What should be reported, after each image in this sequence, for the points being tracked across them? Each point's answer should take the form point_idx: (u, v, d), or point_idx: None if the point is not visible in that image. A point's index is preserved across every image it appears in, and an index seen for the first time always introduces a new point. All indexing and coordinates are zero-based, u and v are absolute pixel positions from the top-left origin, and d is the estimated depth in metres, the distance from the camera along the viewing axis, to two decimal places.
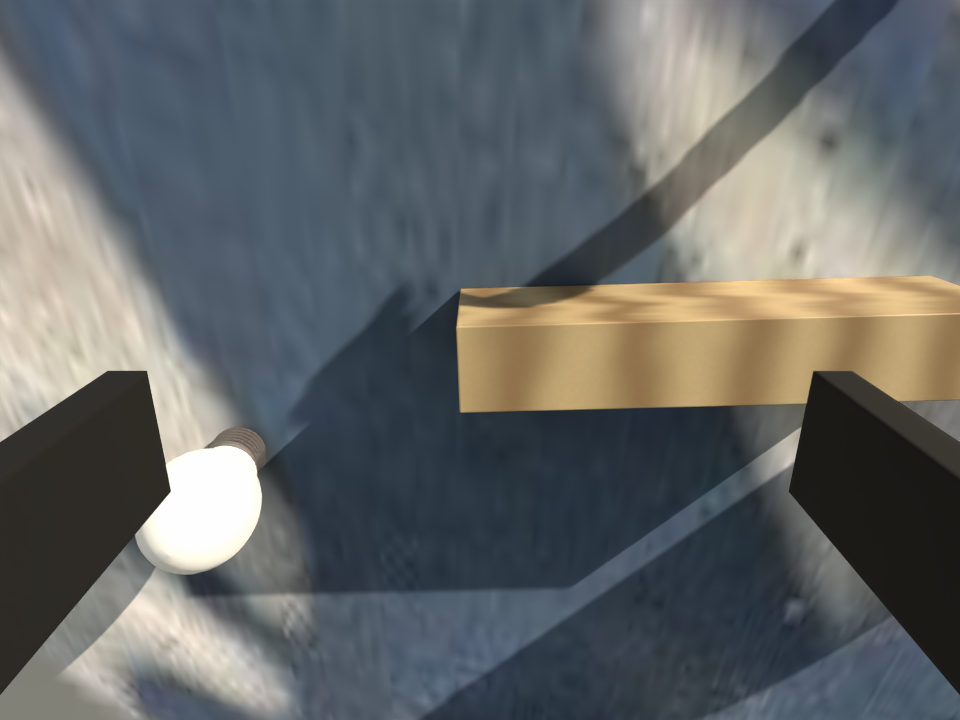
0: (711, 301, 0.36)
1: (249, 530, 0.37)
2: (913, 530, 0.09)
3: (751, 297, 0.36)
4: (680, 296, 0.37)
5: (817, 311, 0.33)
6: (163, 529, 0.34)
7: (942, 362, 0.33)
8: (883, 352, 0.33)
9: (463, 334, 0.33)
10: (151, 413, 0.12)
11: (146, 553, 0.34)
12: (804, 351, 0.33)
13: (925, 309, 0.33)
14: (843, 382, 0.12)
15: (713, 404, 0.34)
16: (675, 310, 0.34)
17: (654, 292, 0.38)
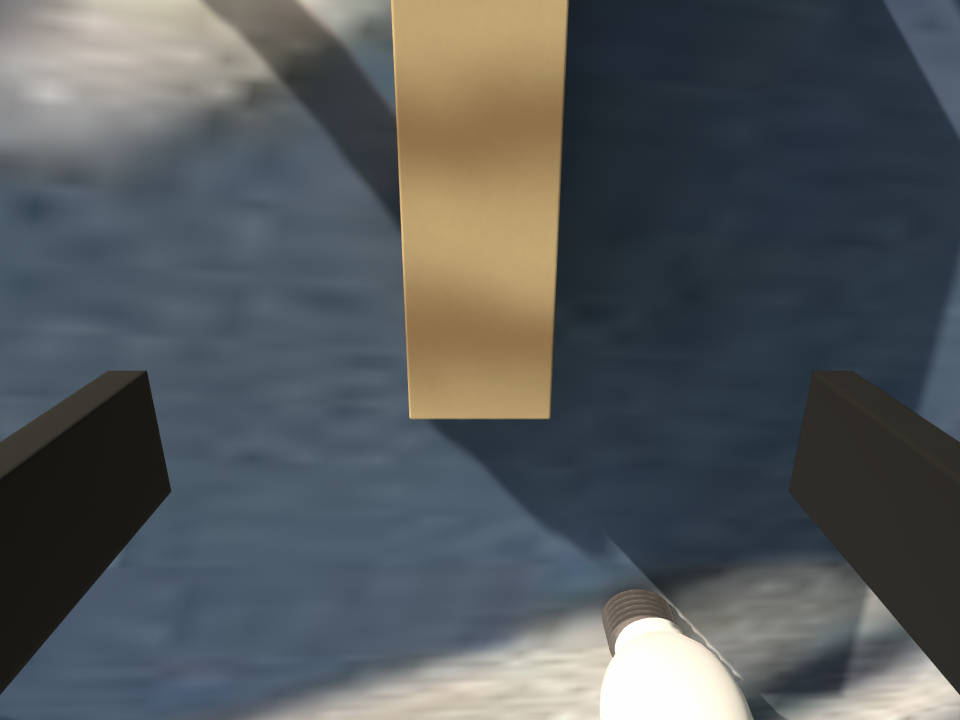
0: None
1: (712, 688, 0.27)
2: (913, 530, 0.09)
3: None
4: None
5: None
6: None
7: None
8: None
9: (421, 410, 0.22)
10: (151, 413, 0.12)
11: None
12: None
13: None
14: (843, 382, 0.12)
15: None
16: None
17: None
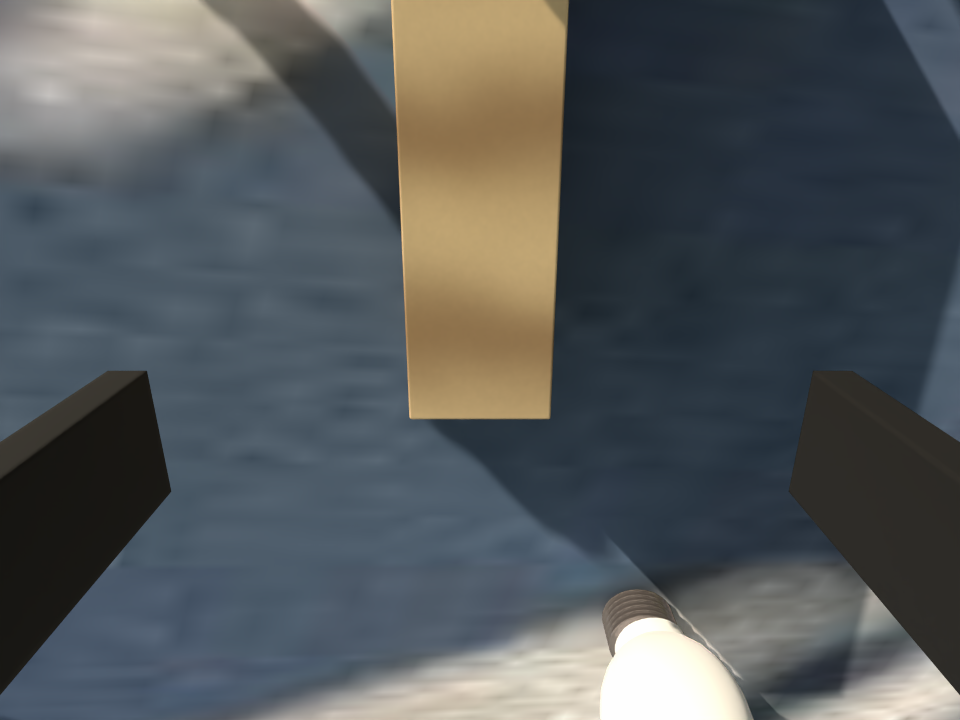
0: None
1: (712, 688, 0.27)
2: (913, 530, 0.09)
3: None
4: None
5: None
6: None
7: None
8: None
9: (421, 410, 0.22)
10: (151, 413, 0.12)
11: None
12: None
13: None
14: (843, 382, 0.12)
15: None
16: None
17: None
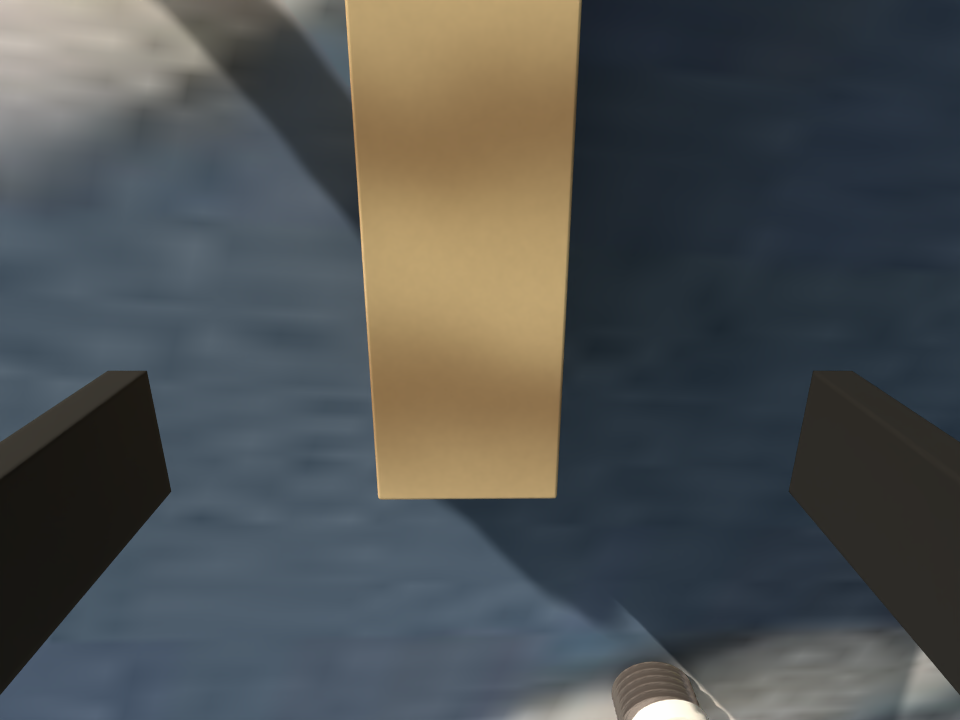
0: None
1: None
2: (913, 530, 0.09)
3: None
4: None
5: None
6: None
7: None
8: None
9: (392, 489, 0.17)
10: (150, 414, 0.12)
11: None
12: None
13: None
14: (843, 382, 0.12)
15: None
16: None
17: None
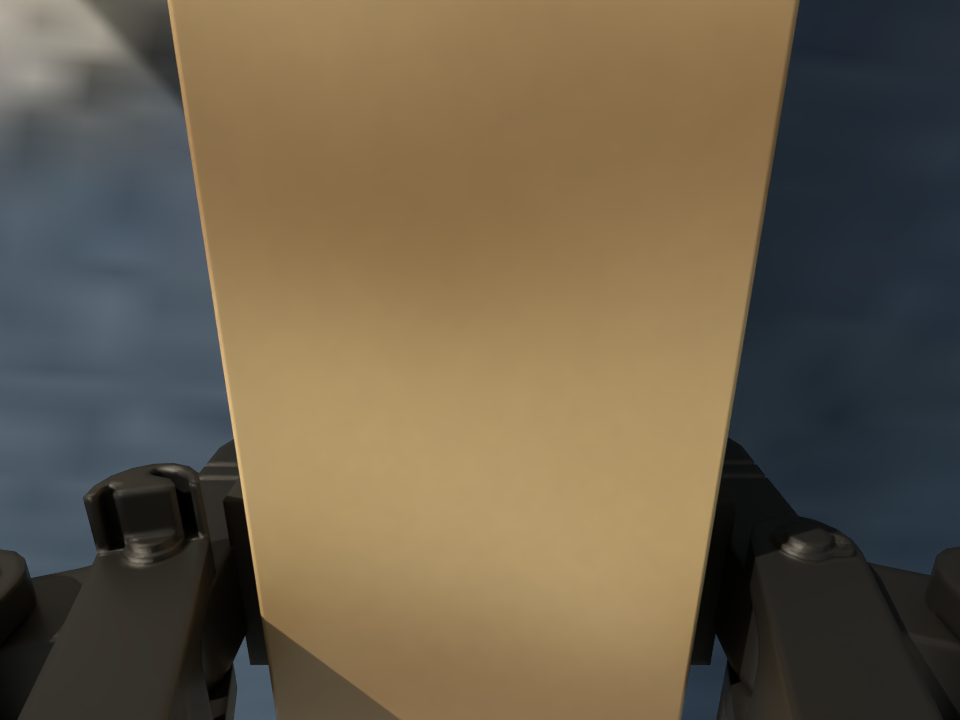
0: None
1: None
2: None
3: None
4: None
5: None
6: None
7: None
8: None
9: None
10: None
11: None
12: None
13: None
14: None
15: None
16: None
17: None
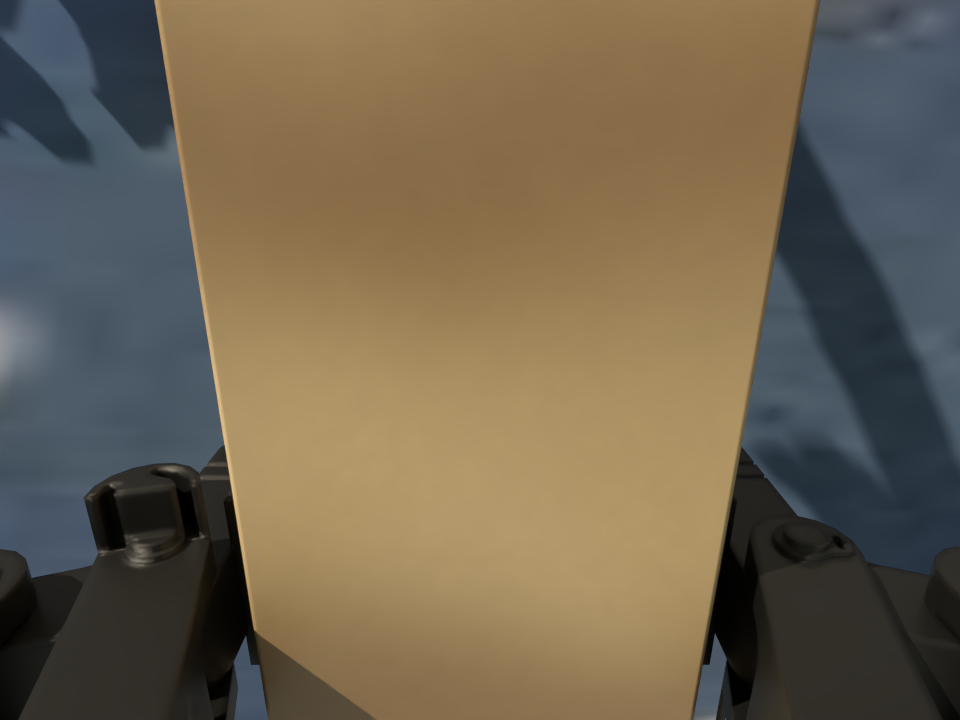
0: None
1: None
2: None
3: None
4: None
5: None
6: None
7: None
8: None
9: None
10: None
11: None
12: None
13: None
14: None
15: None
16: None
17: None
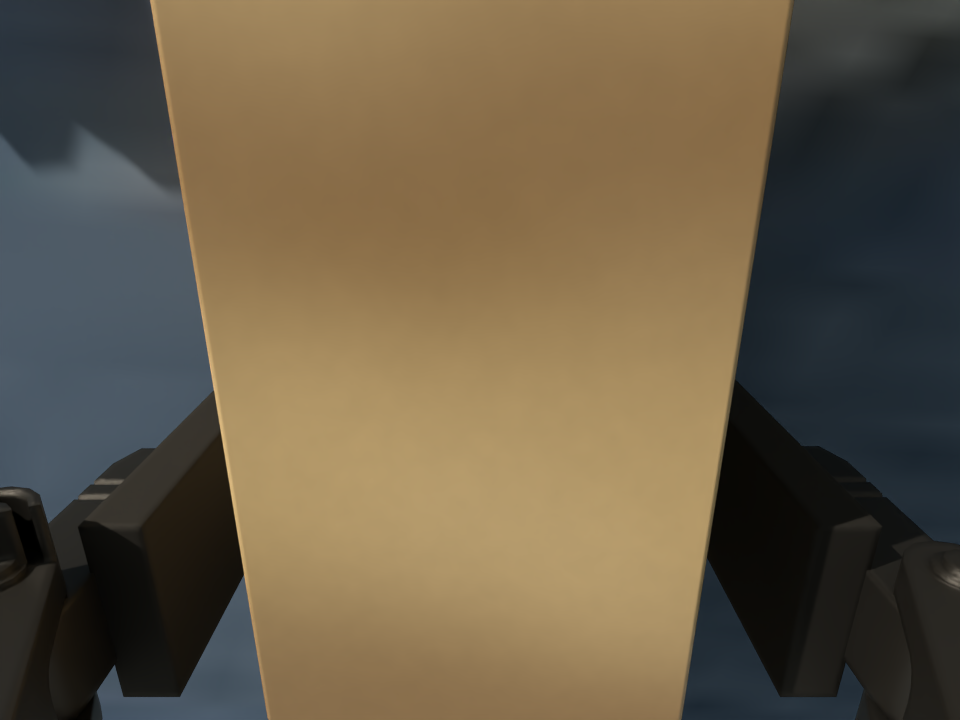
0: None
1: None
2: None
3: None
4: None
5: None
6: None
7: None
8: None
9: None
10: None
11: None
12: None
13: None
14: None
15: None
16: None
17: None
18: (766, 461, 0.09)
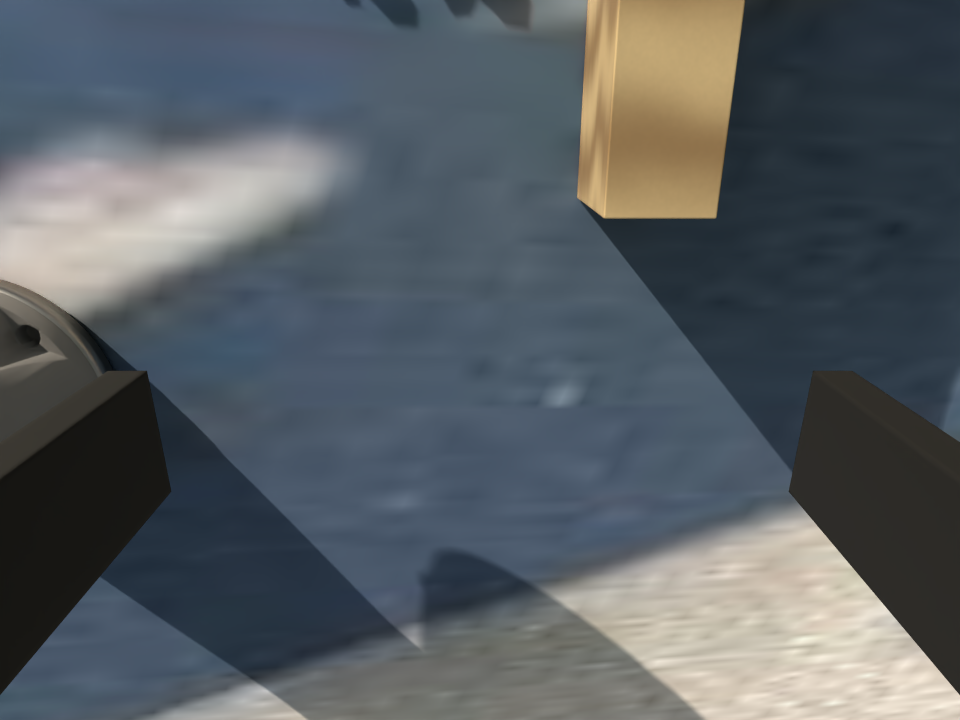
0: None
1: None
2: (913, 530, 0.09)
3: None
4: None
5: None
6: None
7: None
8: None
9: (614, 210, 0.27)
10: (151, 413, 0.12)
11: None
12: None
13: None
14: (843, 382, 0.12)
15: None
16: None
17: None
18: None
